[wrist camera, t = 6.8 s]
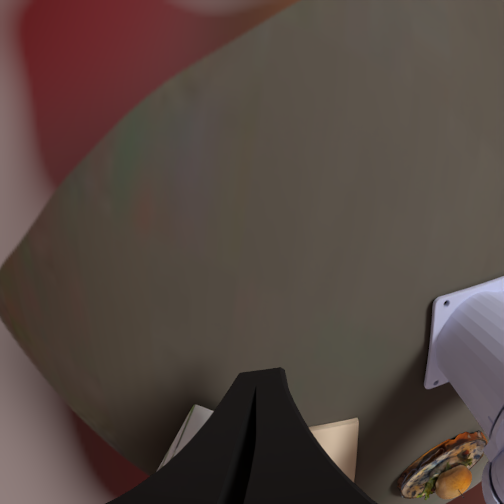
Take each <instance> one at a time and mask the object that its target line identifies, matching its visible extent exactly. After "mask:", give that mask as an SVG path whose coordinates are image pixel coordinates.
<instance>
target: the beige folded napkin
mask: <svg viewBox="0 0 504 504" xmlns="http://www.w3.org/2000/svg"><path fill="white" fill-rule="evenodd" d="M358 426H359V421H358V418H353V419H349V420H344V421H339V422H334V423H329V424H323V425H318V426H312V427H309V429H310V430H311V432H312V434H313V435H314V437H315V438H316V439H317V441H318V442H319V444H320V445H321V446H322V448H323V449H324V450H325V451H326V453H327V454H328V455H329V456H330V458H331V459H332V460H333V461H334V462H335V463H336V465H337V466H338V467H339V468H340V469H341V470H342V471H343V472H344V473H345V475H346V476H348V477H349V478H350V479H351V480H352V481H353V482H354V478H355V468H356V457H357V443H358Z"/></svg>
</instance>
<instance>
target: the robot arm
mask: <svg viewBox="0 0 504 504" xmlns="http://www.w3.org/2000/svg"><path fill="white" fill-rule="evenodd" d="M446 300H447V303H446V304H445V305H444V302H445V301H446ZM447 382H450V384H451V385H452V386H453V388H454V389H455V390H456V392H457V393H458V395H459V396H460V397H461V399H462V400H463V402H464V403H465V404H466V406H467V407H468V409H469V410H470V412H471V413H472V414H473V416H474V417H475V419H476V420H477V422H478V423H479V425H480V426H481V428H482V429H483V431H484V432H485V434H486V435H487V437H488V438H489V442H488V444H487V445H486V446H485V447H484V449H483V451H484V453H485V455H486V456H487V458H488V460H489V461H488V462H487V464H486V466H485V467H484V470H483V474H482V489H483V495H484V499H485V502H486V504H504V276H502V277H499V278H497V279H494V280H491V281H488V282H485V283H482V284H479V285H476V286H473V287H470V288H466V289H463V290H460V291H457V292H453V293H450V294H447V295H443V296H440V297H438V298H436V299H435V300H434V302H433V307H432V323H431V334H430V344H429V353H428V361H427V368H426V374H425V380H424V387H425V388H426V389H431V388H434V387H437V386H439V385H442V384H445V383H447ZM106 504H377V503H376V502H375V501H373V500H372V499H371V498H370V497H369V496H368V495H366V494H365V493H364V492H363V491H362V490H361V489H360V488H359V487H358V486H357V485H356V484H355V483H354V482H353V481H352V480H351V479H350V478H349V477H348V476H346V475H345V473H344V472H343V471H342V470H341V469H340V468H339V467H338V466H337V465H336V463H335V462H334V461H333V460H332V459H331V458H330V456H329V455H328V454H327V453H326V451H325V450H324V449H323V448H322V446H321V445H320V444H319V442H318V441H317V439H316V438H315V437H314V435H313V434H312V432H311V430H310V429H309V427H308V426H307V424H306V423H305V421H304V419H303V418H302V416H301V414H300V412H299V410H298V408H297V406H296V404H295V402H294V400H293V398H292V396H291V394H290V391H289V388H288V384H287V379H286V374H285V370H284V369H282V368H281V367H279V368H273V369H266V370H258V371H251V372H243V373H240V374H239V375H238V376H237V378H236V379H235V381H234V382H233V384H232V386H231V387H230V389H229V390H228V392H227V393H226V395H225V396H224V398H223V399H222V401H221V402H220V404H219V405H218V406H217V408H216V409H215V410H214V412H213V413H212V414H211V416H210V417H209V418H208V420H207V421H206V422H205V424H204V425H203V426H202V427H201V428H200V429H199V431H198V432H197V433H196V434H195V435H194V436H193V438H192V439H191V440H190V441H189V442H188V443H187V444H186V445H185V446H184V447H183V448H182V449H181V450H180V451H179V452H178V453H177V454H176V455H175V456H174V457H173V458H172V459H171V460H170V461H169V462H168V463H166V464H165V465H164V466H163V467H162V468H160V469H159V470H158V471H157V472H155V473H154V474H153V475H151V476H150V477H149V478H147V479H146V480H145V481H143V482H142V483H140V484H139V485H138V486H136V487H134V488H133V489H131V490H130V491H128V492H126V493H125V494H123V495H121V496H120V497H118V498H116V499H114V500H112V501H110V502H108V503H106Z"/></svg>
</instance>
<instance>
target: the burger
mask: <svg viewBox="0 0 504 504" xmlns="http://www.w3.org/2000/svg"><path fill="white" fill-rule="evenodd" d="M486 445H487V440H486V438H485V436H484V435H483V433H482V432H480V431H478V432H475V433H474V434H473V433H472V434H470V433H468V432H464V433H463V434H459V435H458V436H457V437H456V438H455V440H450V439H448V440H446V441H444V442H442V443H441V444H439V445H437V446H436V447H434V448H433V449H431V450H430V451H428V452H427V453H425V454H424V455H423V456H421V457H420V458H419V459H417V460H416V461H415V462H414V463H412V464H411V465H410V466H409V467H408V468H407V469H406V470H405V471H404V472H403V473H402V474H401V476H400V477H399V479H398V481H397V484H398V485H399V486H397V487H398V489H400V491H401V496H402V497H404V498H409V499H410V498H418V497H422V496H425V499H424V500H426V499H427V498H429V494H433V493H434V492H436V494H437V495H438V496H439V497H440V498H442V499H451V498H454V497H457V496H459V495H460V494H461V495H462V493H463V492H464V491H465V490H466V489H467V488H468V487H469V485H470V483H471V480H472V475H471V472H470V469H471V468H472V467H473V466H474V465H475V464H476V463H477V462H478V461H479V460H480V459H481V457H483V453H484V451H483V449H484V447H485V446H486ZM462 496H463V495H462ZM463 498H464V497H463Z"/></svg>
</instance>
